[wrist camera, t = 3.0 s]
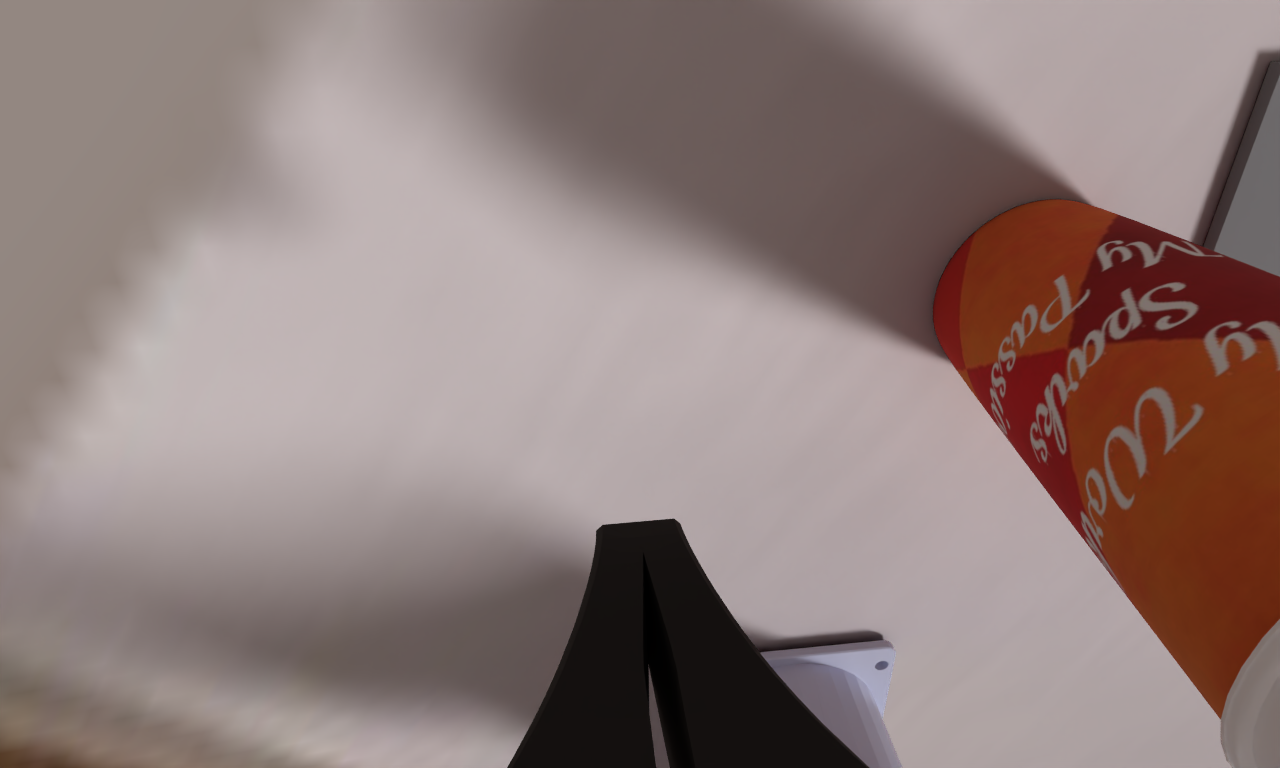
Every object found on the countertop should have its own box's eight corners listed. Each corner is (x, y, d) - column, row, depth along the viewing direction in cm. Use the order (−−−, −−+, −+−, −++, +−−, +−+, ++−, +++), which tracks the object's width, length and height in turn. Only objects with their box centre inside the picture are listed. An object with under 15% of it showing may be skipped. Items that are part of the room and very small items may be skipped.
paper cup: (1016, 105, 19) (1802, 395, 7) (1216, 230, 21) (2070, 612, 9) (841, 355, 22) (1168, 845, 10) (1031, 440, 24) (1481, 921, 12)
